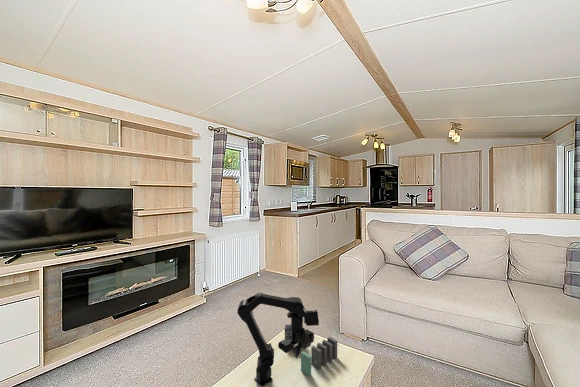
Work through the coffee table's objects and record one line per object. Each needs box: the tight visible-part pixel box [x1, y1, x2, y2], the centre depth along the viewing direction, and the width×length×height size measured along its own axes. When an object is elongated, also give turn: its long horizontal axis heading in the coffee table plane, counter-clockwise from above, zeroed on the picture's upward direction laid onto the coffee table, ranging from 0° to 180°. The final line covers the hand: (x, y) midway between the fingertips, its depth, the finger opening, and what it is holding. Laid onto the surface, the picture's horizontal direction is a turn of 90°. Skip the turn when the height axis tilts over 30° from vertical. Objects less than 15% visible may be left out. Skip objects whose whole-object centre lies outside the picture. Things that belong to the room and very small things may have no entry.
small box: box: [284, 324, 291, 341], centre depth 152 cm, size 11×6×10 cm, turn 84°
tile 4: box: [321, 339, 333, 363], centre depth 139 cm, size 2×6×9 cm, turn 40°
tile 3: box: [316, 342, 328, 366], centre depth 136 cm, size 2×6×9 cm, turn 41°
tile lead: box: [300, 350, 312, 377], centre depth 129 cm, size 2×6×9 cm, turn 40°
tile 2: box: [310, 345, 323, 370], centre depth 133 cm, size 2×6×9 cm, turn 41°
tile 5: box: [326, 336, 338, 360], centre depth 142 cm, size 2×6×9 cm, turn 41°
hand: (296, 357), depth 125 cm, fingers closed
